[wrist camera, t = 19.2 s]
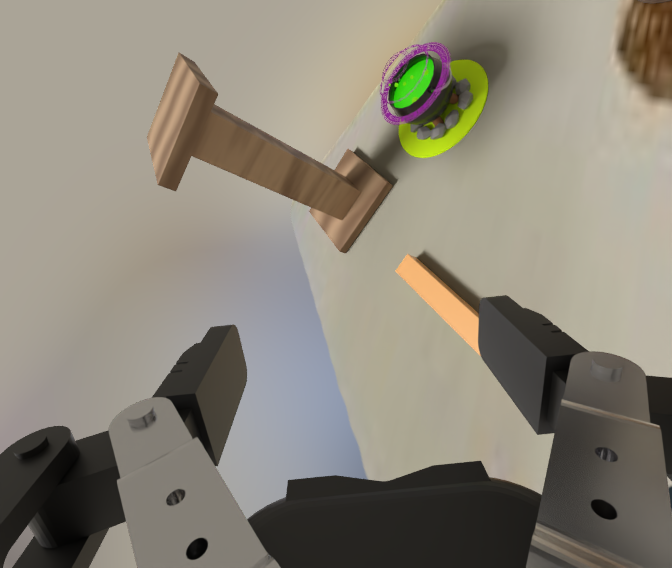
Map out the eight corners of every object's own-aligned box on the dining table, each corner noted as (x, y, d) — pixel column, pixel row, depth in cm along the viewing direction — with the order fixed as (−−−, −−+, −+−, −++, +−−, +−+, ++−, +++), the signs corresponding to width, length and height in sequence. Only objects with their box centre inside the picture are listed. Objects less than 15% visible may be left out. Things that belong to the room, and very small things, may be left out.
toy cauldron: (512, 68, 47) (472, 9, 39) (444, 172, 51) (397, 136, 44) (435, 54, 57) (393, 5, 49) (384, 142, 61) (339, 109, 54)
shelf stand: (397, 190, 57) (203, 73, 36) (349, 258, 62) (154, 192, 41) (353, 152, 67) (181, 43, 46) (314, 213, 72) (144, 142, 51)
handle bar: (544, 371, 37) (536, 370, 36) (524, 391, 38) (515, 391, 37) (417, 258, 52) (407, 254, 50) (405, 274, 53) (395, 270, 51)
